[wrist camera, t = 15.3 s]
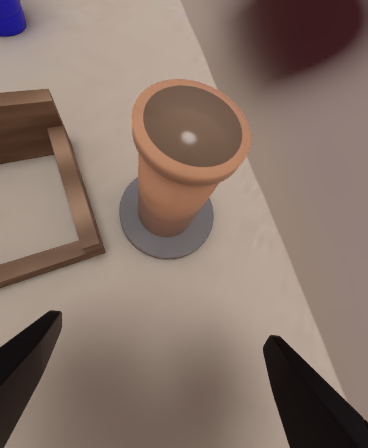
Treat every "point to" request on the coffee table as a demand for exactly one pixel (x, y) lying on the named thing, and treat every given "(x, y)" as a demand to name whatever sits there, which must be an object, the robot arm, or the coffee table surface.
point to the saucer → (157, 244)
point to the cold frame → (73, 184)
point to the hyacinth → (11, 18)
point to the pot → (184, 150)
